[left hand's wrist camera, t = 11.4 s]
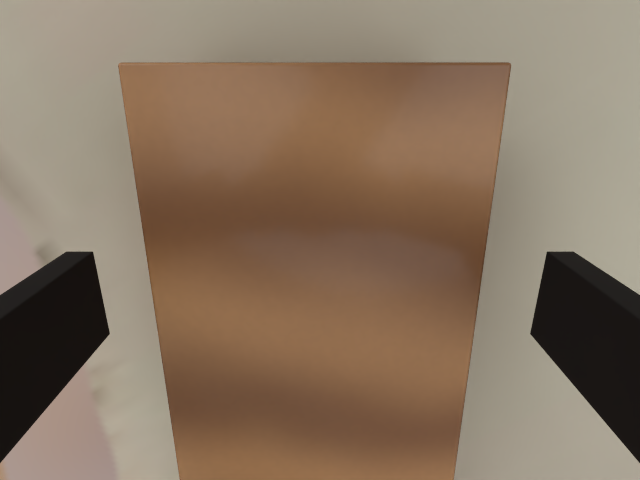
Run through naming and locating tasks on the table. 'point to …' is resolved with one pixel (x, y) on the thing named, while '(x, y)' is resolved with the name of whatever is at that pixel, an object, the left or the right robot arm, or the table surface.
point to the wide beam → (315, 258)
